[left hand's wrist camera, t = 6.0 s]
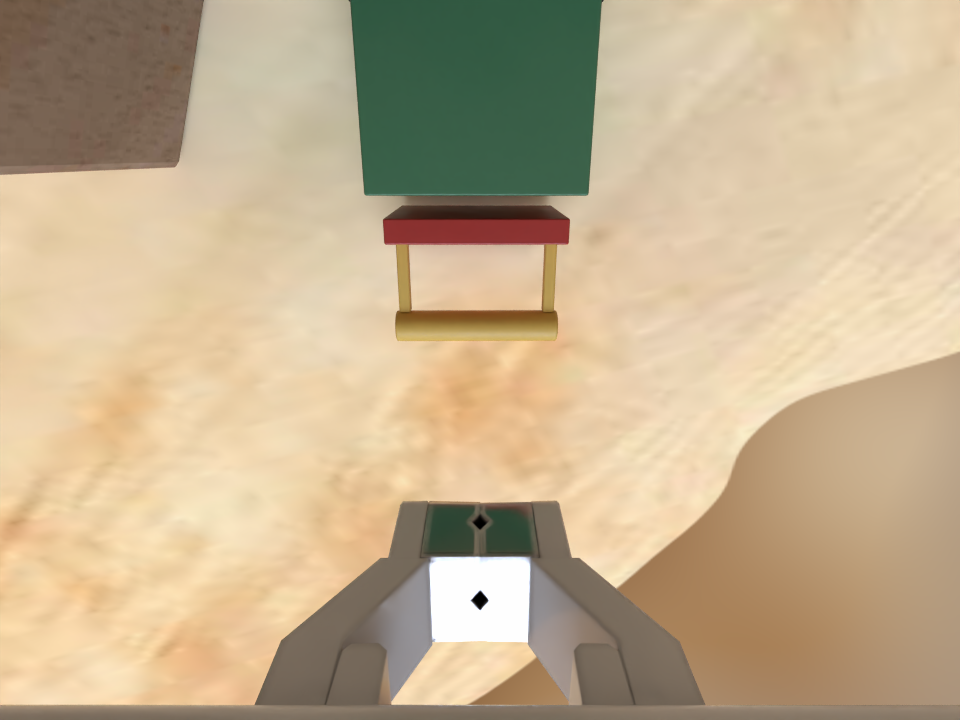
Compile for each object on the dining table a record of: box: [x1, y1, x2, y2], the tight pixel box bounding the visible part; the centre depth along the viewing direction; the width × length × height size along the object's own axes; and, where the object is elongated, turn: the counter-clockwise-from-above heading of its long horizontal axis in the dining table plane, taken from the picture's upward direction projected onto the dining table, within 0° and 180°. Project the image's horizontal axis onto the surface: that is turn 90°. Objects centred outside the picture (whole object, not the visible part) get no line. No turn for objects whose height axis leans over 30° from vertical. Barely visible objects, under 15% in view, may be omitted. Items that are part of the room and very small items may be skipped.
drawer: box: [383, 206, 570, 341], centre depth 27 cm, size 19×9×7 cm, turn 0°
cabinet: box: [350, 0, 602, 196], centre depth 25 cm, size 14×10×9 cm
